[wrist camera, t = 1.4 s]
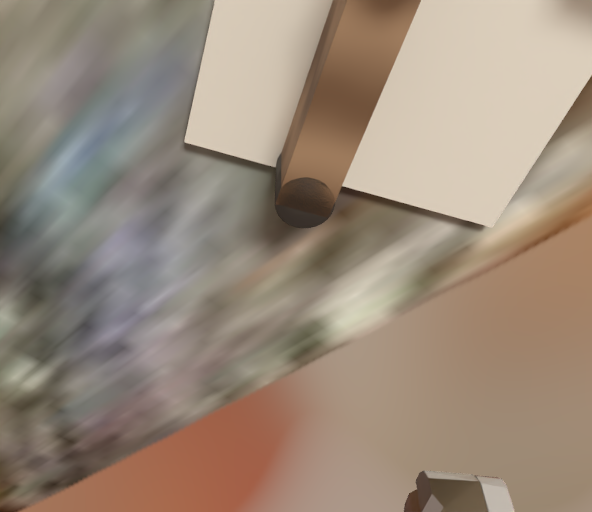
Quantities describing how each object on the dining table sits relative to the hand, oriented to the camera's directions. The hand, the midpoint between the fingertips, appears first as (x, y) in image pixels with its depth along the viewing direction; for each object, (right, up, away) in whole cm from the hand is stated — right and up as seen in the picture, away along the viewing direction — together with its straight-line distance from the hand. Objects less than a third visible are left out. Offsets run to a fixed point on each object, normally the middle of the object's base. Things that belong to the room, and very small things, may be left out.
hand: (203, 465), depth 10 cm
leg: (+4, +13, +19) cm, 24 cm away
